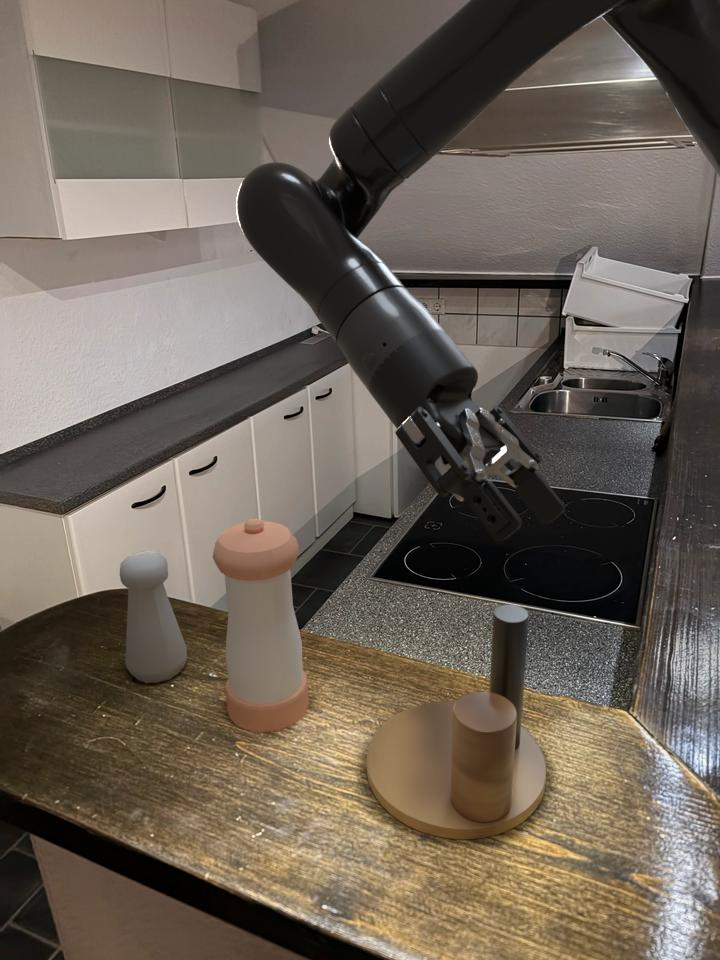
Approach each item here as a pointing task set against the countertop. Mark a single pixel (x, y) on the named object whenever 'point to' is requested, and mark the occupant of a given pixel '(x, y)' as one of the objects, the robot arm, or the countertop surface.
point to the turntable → (465, 751)
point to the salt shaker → (150, 620)
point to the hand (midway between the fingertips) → (535, 525)
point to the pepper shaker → (261, 626)
